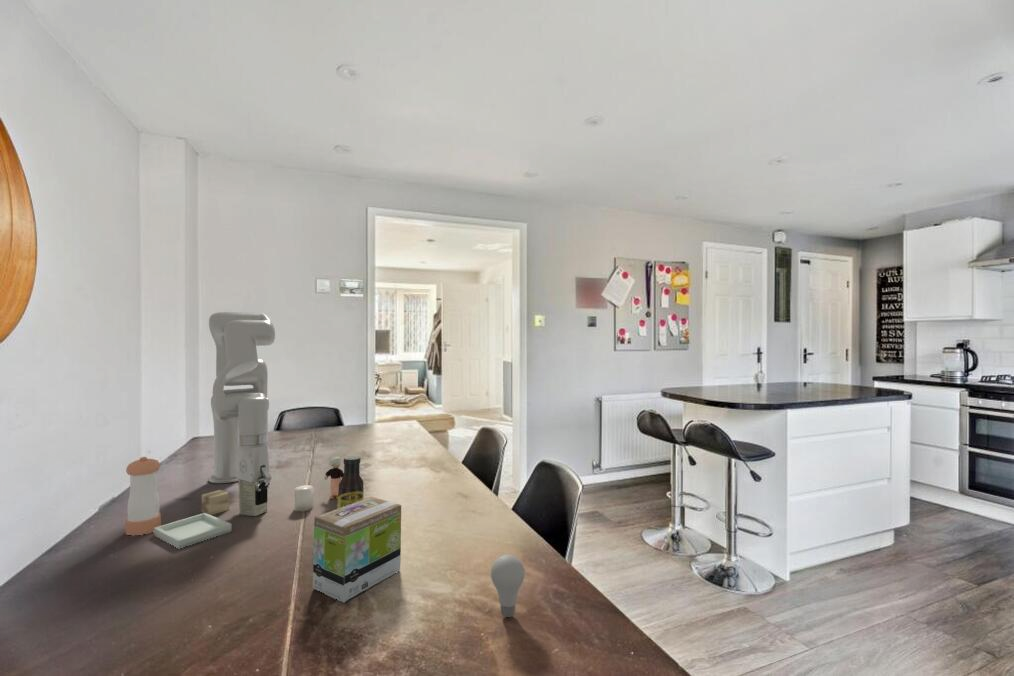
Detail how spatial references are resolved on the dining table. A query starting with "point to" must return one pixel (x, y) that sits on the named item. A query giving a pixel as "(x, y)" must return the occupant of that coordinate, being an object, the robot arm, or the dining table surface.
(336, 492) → the grandmother figurine
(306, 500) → the cream cylinder
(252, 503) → the skincare box
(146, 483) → the salt shaker
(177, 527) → the tray
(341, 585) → the tea box
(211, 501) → the beech block
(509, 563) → the lightbulb
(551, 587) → the dining table surface
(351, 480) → the sauce bottle
